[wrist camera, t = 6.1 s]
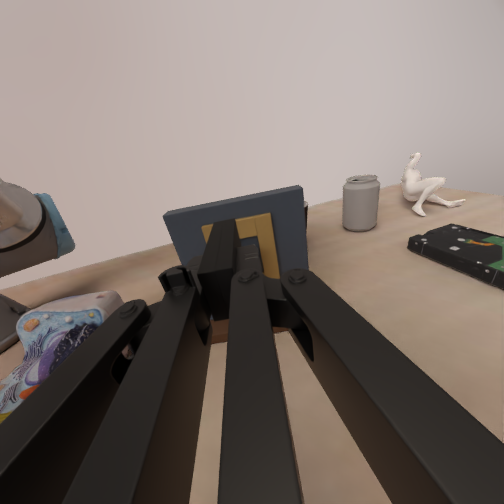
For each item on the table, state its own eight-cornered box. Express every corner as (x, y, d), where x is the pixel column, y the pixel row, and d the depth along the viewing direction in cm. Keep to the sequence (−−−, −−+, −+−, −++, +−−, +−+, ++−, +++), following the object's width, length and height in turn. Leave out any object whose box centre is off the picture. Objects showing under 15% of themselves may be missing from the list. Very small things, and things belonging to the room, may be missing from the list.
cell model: (120, 272, 29) (-10, 461, 12) (151, 325, 34) (92, 512, 17) (22, 295, 28) (-280, 541, 11) (69, 347, 33) (-83, 569, 16)
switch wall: (318, 325, 29) (311, 193, 20) (204, 345, 29) (152, 225, 21) (296, 275, 39) (286, 176, 31) (213, 291, 40) (181, 197, 31)
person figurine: (484, 160, 45) (414, 145, 59) (427, 186, 45) (371, 165, 59) (467, 210, 53) (409, 187, 67) (419, 232, 53) (371, 204, 67)
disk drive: (405, 250, 40) (511, 295, 27) (407, 237, 39) (520, 277, 26) (447, 235, 42) (566, 270, 29) (450, 222, 41) (576, 252, 28)
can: (353, 219, 57) (355, 173, 51) (382, 224, 51) (387, 173, 46) (336, 229, 53) (336, 180, 48) (365, 235, 48) (369, 181, 42)
